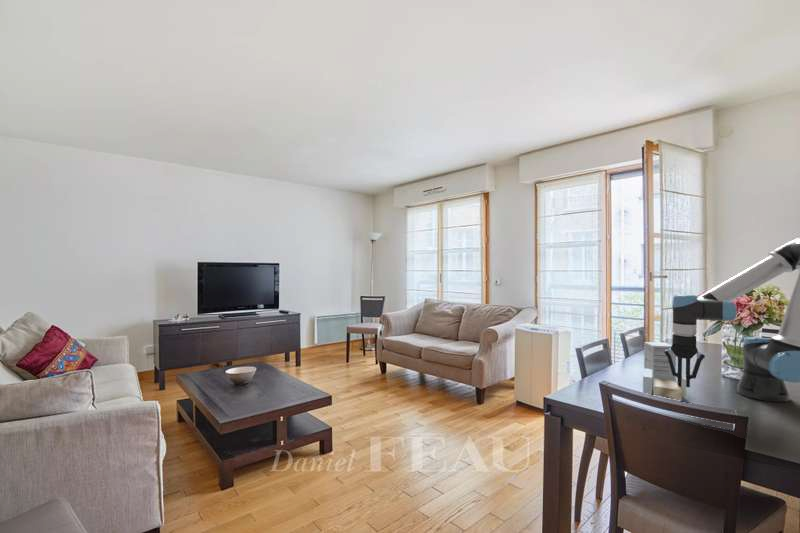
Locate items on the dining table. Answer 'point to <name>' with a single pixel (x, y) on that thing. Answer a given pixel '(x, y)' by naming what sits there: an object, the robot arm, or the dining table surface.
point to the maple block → (667, 389)
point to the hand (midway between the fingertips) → (683, 394)
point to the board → (647, 380)
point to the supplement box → (659, 360)
